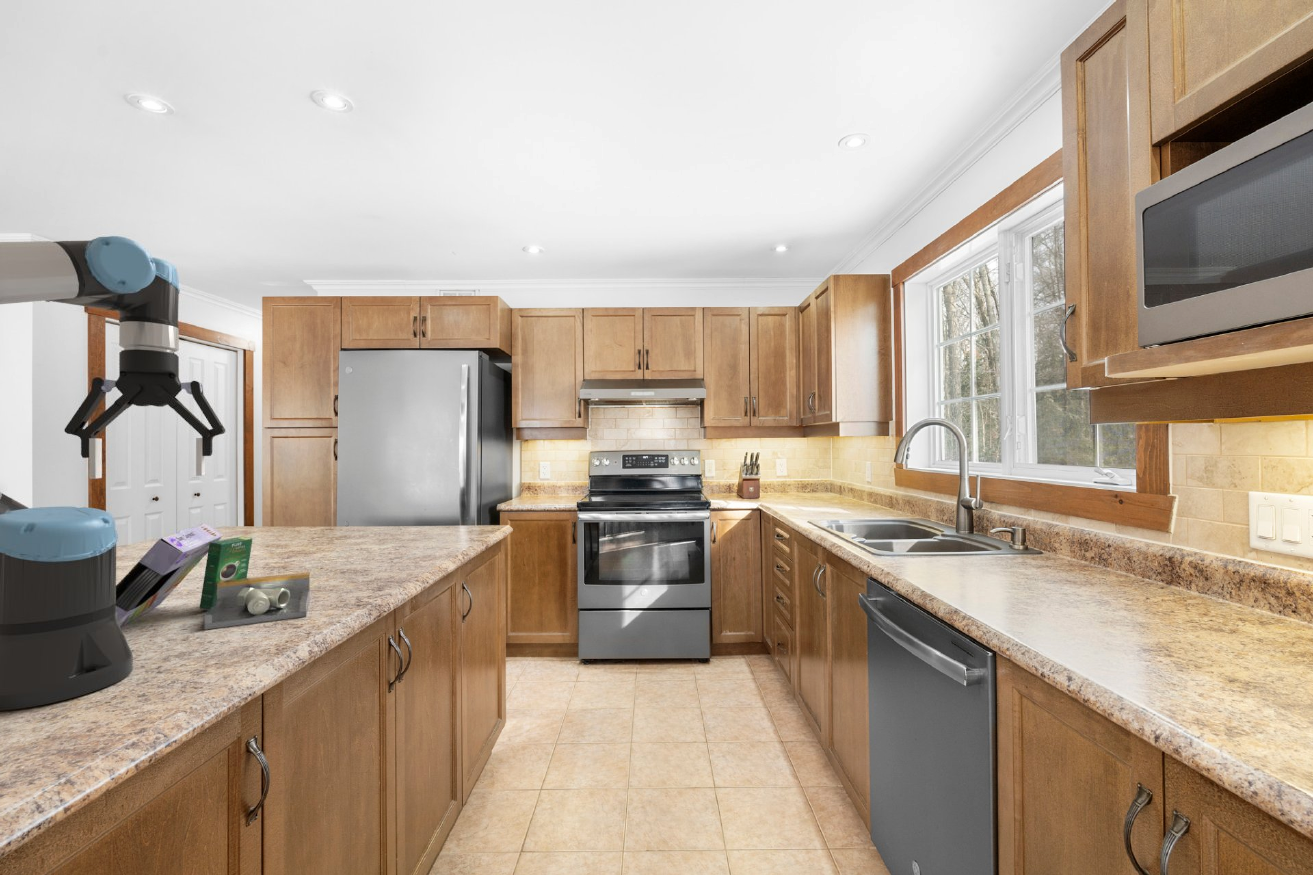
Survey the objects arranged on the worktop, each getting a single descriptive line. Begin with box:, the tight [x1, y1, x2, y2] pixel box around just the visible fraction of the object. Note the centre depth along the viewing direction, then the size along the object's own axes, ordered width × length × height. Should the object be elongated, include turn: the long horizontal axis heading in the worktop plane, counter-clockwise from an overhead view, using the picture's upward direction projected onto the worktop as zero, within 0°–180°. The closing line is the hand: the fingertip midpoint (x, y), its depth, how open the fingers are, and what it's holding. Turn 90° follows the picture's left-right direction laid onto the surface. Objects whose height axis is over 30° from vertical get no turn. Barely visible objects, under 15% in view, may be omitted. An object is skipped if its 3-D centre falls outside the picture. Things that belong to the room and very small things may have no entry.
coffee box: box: [199, 536, 253, 611], centre depth 114 cm, size 8×3×13 cm, turn 175°
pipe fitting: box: [237, 588, 290, 615], centre depth 106 cm, size 8×4×7 cm
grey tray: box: [204, 571, 311, 631], centre depth 108 cm, size 13×15×6 cm
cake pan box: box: [116, 523, 224, 629], centre depth 105 cm, size 19×5×18 cm
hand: (149, 477), depth 96 cm, fingers open, 13 cm apart
